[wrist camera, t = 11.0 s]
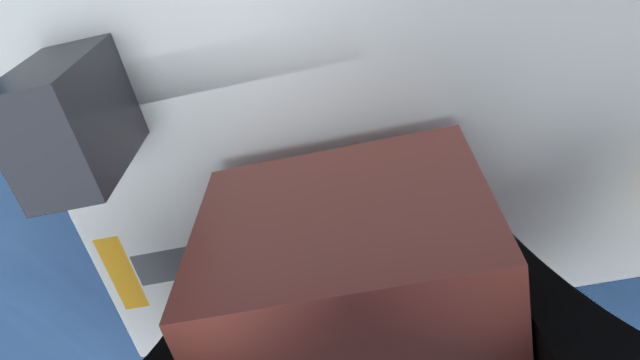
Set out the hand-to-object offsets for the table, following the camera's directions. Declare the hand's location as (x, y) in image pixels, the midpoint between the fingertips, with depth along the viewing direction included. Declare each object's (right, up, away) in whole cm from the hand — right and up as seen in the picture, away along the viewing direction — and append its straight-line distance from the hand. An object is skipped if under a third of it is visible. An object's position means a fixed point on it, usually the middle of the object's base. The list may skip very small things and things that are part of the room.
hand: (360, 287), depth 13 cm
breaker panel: (+1, +4, +2) cm, 5 cm away
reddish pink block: (0, +1, +1) cm, 1 cm away
